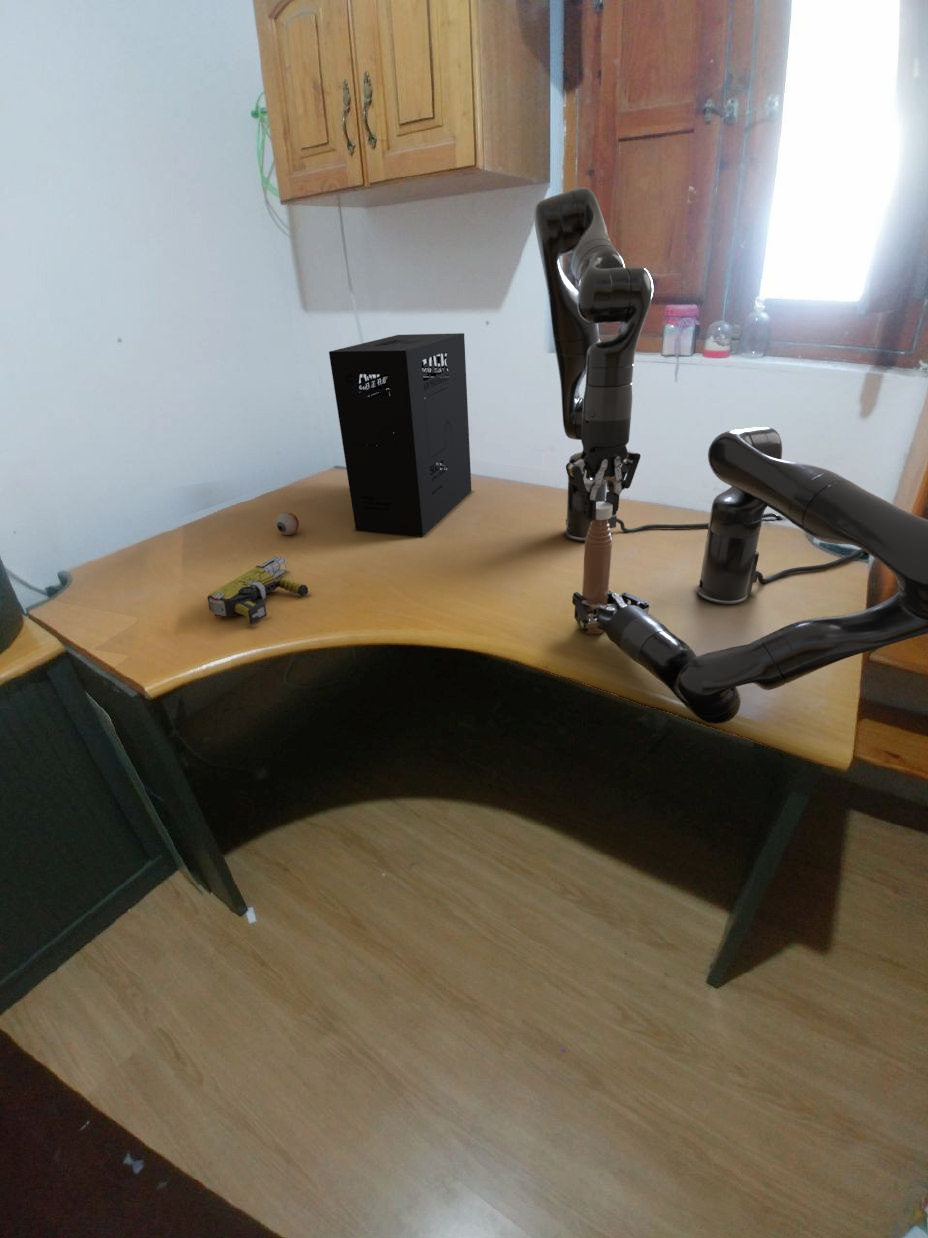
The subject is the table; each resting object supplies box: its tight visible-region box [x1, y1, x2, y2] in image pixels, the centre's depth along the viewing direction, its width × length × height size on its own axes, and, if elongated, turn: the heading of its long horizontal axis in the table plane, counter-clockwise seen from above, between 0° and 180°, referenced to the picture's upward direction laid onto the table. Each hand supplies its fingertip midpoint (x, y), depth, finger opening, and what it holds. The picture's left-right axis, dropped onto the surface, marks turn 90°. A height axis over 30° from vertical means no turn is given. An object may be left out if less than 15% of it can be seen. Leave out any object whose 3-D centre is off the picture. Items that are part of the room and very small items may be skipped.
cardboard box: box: [328, 332, 472, 537], centre depth 166 cm, size 38×20×45 cm, turn 159°
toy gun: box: [206, 555, 309, 625], centre depth 131 cm, size 5×24×15 cm
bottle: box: [581, 519, 613, 635], centre depth 109 cm, size 5×5×24 cm
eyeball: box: [275, 511, 300, 536], centre depth 163 cm, size 6×6×6 cm
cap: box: [595, 502, 613, 520], centre depth 103 cm, size 4×4×2 cm
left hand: (600, 516), depth 104 cm, fingers closed on cap, 4 cm apart
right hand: (587, 593), depth 114 cm, fingers closed on bottle, 4 cm apart
